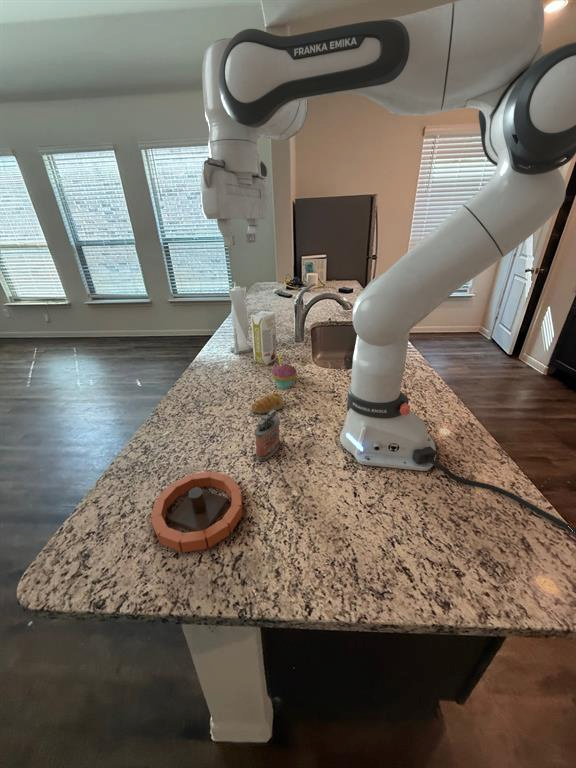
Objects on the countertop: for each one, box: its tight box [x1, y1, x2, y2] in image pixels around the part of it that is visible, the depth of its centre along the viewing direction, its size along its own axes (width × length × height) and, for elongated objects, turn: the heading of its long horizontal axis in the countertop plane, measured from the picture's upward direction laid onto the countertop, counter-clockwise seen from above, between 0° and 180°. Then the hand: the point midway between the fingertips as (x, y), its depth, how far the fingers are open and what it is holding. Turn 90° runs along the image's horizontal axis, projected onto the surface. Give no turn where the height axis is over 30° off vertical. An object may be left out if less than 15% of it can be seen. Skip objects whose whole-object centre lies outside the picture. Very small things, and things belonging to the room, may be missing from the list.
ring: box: [150, 470, 243, 553], centre depth 59 cm, size 16×16×2 cm
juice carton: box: [250, 310, 278, 366], centre depth 120 cm, size 8×9×19 cm
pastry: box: [251, 391, 285, 415], centre depth 92 cm, size 9×7×4 cm
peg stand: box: [167, 487, 229, 532], centre depth 59 cm, size 8×8×5 cm
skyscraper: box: [227, 281, 253, 355], centre depth 130 cm, size 8×8×28 cm
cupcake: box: [270, 351, 298, 389], centre depth 103 cm, size 9×8×12 cm
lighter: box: [253, 410, 281, 462], centre depth 73 cm, size 8×3×10 cm, turn 148°
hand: (241, 244), depth 65 cm, fingers open, 8 cm apart
